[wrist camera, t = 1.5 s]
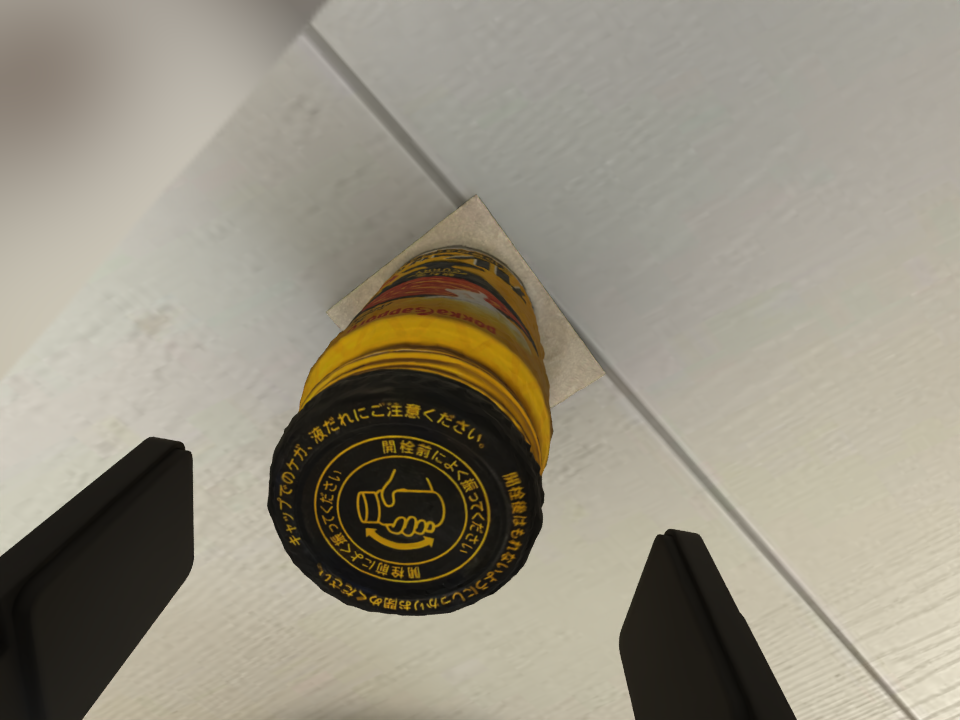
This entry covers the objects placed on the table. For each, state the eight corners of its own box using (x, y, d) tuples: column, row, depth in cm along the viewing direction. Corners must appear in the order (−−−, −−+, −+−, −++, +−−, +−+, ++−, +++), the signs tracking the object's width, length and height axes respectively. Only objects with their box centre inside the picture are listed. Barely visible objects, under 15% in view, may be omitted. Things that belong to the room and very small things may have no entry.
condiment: (476, 193, 19) (431, 260, 8) (605, 372, 22) (709, 616, 10) (327, 310, 21) (124, 494, 10) (460, 463, 23) (415, 753, 12)
